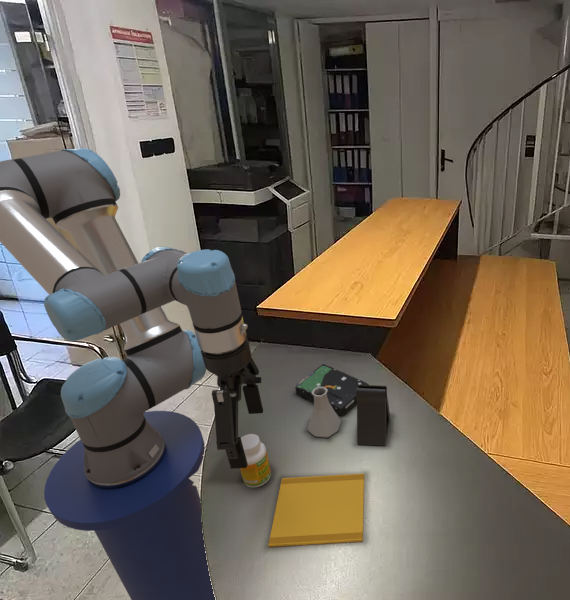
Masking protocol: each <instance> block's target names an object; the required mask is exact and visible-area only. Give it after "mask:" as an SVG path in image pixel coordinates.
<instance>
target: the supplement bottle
mask: <svg viewBox="0 0 570 600" xmlns="http://www.w3.org/2000/svg"><path fill="white" fill-rule="evenodd" d="M240 437H241V441H242V444H243V448H244V452H245V456H246V459H247V463H248V465H247V468H239V470H240V474H241V478H242V481H243V483H244V485H245V486H247V487H248V488H258V487H259V488H260V487H262V486H264V485H265V484H266V483H268V482H269V480H270V479H271V477H272V469H271V466H270V460H269V457H268V456H269V455H268V451H267V448H266V445H265V444H264V443H263V442H262V441H261V440H260V437H259V436H258V434H255V433H248V434H245V435H243V436H240Z"/></svg>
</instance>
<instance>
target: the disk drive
mask: <svg viewBox="0 0 570 600" xmlns="http://www.w3.org/2000/svg"><path fill="white" fill-rule="evenodd" d="M357 385H370V384H369V383H367V382H366V381H363V380H362V379H359V378H357V377H355V376H352V375H350V374H347V373H345V372H343V371H341V370H338V369H336V368H333V367H332V366H330V365H327V364H324V363H322V364H321V365H319V366H318V367H317V368H315V370H313V371H311V372H310V373H308V376H306V377H305V378H303V379H302V380H301V381H300V382H299V383H298V382H297V383H296V386H295V394H298V395H299V396H301V397H303V398H305V399H306V400H309V401H311V402H313V403H314V396H313V395H312V391H313V389H315V388H316V387H325V388H326V389H328V392H327V398H328V401H329V403H330V405H331V406H332V408H333V409H334V411H335V412H336V414H337V415H338V416H344V415H345V414H346V413H347V412H349V411H350V410H351V409H352V408H354V406H355V405H357V398H356V390H357V388H358V387H357Z"/></svg>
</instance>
